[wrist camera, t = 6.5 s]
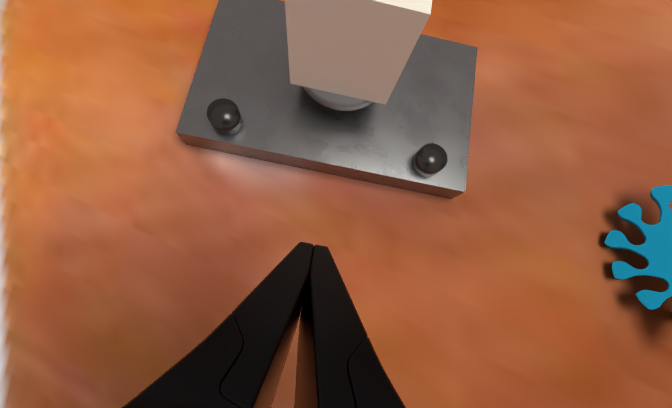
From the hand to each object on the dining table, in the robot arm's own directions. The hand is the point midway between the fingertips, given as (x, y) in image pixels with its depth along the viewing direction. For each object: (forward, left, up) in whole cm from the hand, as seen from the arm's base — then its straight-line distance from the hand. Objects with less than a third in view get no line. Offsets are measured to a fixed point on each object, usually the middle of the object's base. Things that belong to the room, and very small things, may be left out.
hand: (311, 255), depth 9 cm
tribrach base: (+10, -8, -13) cm, 18 cm away
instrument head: (+12, -9, -9) cm, 17 cm away
